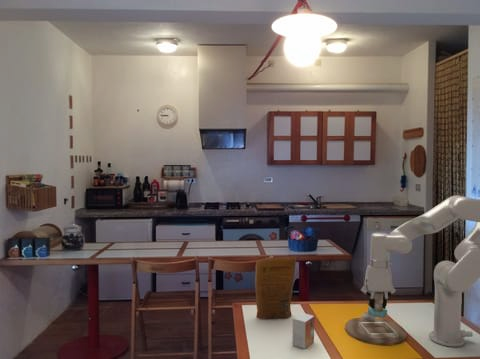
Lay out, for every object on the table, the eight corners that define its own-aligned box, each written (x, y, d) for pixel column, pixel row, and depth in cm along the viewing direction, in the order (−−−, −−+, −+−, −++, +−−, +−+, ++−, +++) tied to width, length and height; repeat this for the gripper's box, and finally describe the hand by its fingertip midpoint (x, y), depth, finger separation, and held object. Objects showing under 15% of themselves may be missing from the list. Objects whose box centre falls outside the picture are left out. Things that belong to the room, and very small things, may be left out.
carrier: (391, 320, 181) (391, 310, 181) (416, 344, 157) (417, 333, 157) (338, 320, 180) (338, 310, 180) (355, 345, 156) (356, 334, 156)
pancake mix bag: (297, 319, 181) (298, 257, 180) (255, 321, 179) (256, 258, 177) (293, 313, 188) (294, 254, 187) (252, 315, 185) (253, 255, 184)
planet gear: (382, 311, 170) (383, 289, 169) (390, 318, 162) (391, 296, 161) (364, 310, 169) (365, 289, 169) (371, 318, 162) (372, 296, 161)
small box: (304, 349, 153) (305, 322, 152) (291, 345, 156) (292, 318, 156) (314, 342, 159) (315, 315, 159) (301, 338, 163) (302, 312, 162)
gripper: (395, 261, 168) (393, 304, 169) (356, 260, 168) (354, 304, 169) (403, 266, 161) (401, 311, 162) (362, 265, 160) (360, 311, 161)
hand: (377, 307), depth 165 cm, fingers closed on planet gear, 4 cm apart
